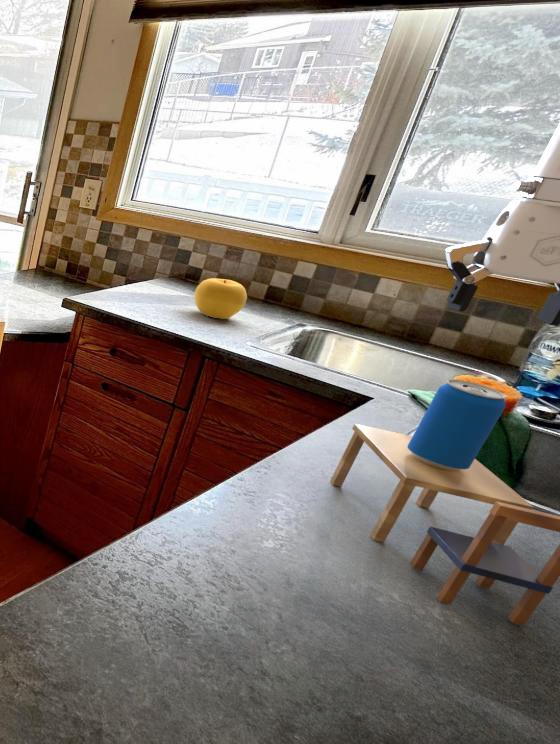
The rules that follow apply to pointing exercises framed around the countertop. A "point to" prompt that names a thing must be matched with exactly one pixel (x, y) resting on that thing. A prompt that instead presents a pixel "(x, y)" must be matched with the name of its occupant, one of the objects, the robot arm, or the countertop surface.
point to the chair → (494, 558)
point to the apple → (220, 298)
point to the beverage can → (456, 424)
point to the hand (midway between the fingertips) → (500, 315)
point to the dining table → (424, 479)
